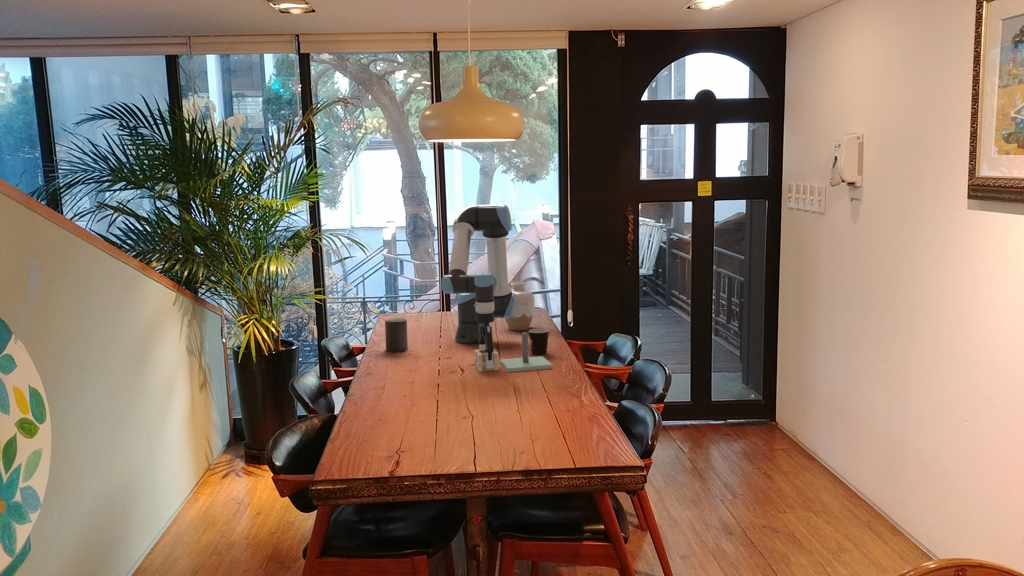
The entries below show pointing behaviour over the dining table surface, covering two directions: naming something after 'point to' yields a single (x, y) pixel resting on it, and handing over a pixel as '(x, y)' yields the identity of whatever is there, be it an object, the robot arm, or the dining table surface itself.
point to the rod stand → (525, 360)
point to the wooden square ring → (481, 360)
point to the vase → (521, 308)
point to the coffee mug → (538, 341)
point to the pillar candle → (396, 334)
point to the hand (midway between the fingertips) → (486, 364)
